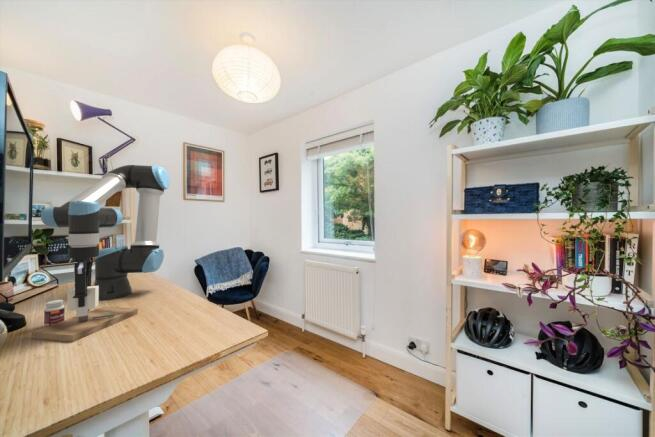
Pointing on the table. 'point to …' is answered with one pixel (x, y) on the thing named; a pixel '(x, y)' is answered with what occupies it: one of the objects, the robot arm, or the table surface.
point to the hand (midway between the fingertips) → (83, 313)
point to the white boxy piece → (92, 301)
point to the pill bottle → (54, 312)
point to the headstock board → (83, 324)
